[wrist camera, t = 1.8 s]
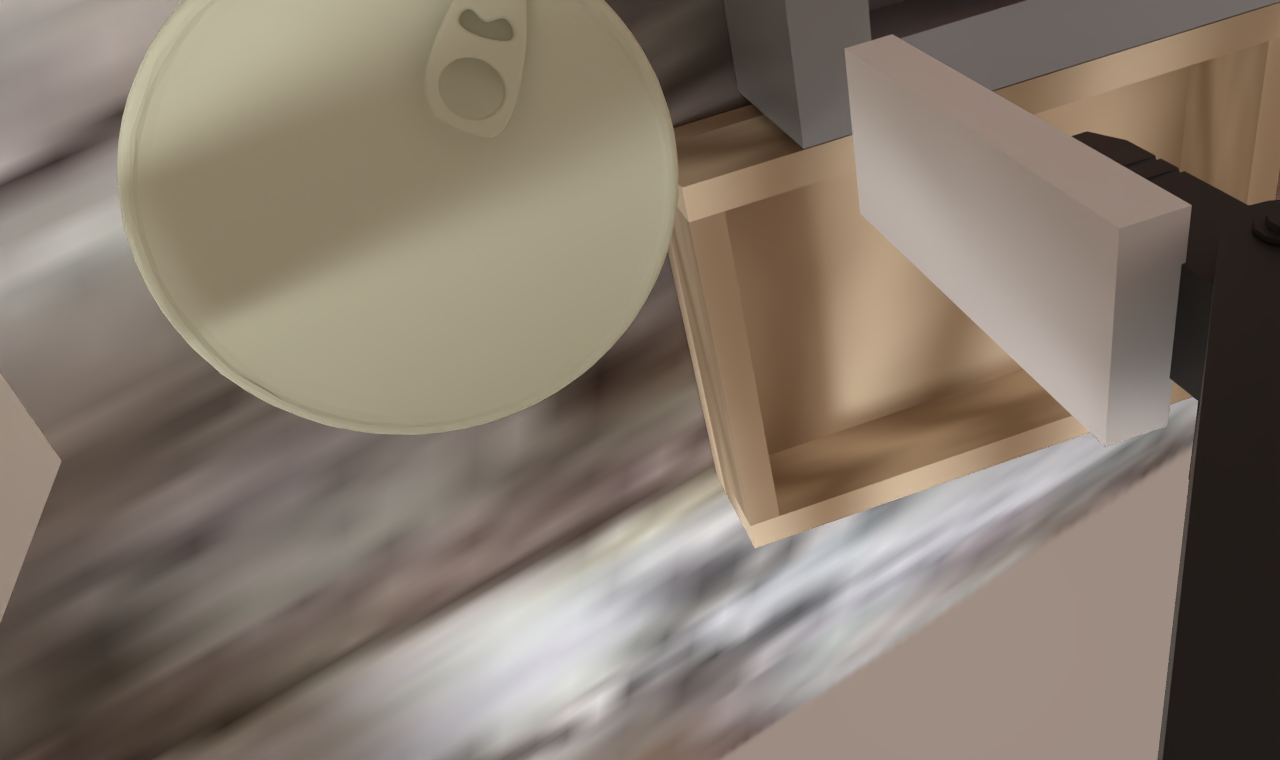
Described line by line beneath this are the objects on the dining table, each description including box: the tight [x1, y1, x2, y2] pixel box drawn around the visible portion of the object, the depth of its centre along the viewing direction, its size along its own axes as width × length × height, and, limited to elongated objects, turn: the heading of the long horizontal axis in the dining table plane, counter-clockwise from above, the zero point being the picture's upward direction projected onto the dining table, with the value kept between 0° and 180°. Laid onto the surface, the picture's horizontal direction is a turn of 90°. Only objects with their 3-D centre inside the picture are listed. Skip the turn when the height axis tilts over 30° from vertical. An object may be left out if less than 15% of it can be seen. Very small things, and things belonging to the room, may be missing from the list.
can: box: [117, 0, 679, 435], centre depth 22 cm, size 9×9×12 cm
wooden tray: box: [668, 2, 1280, 548], centre depth 33 cm, size 18×13×4 cm
